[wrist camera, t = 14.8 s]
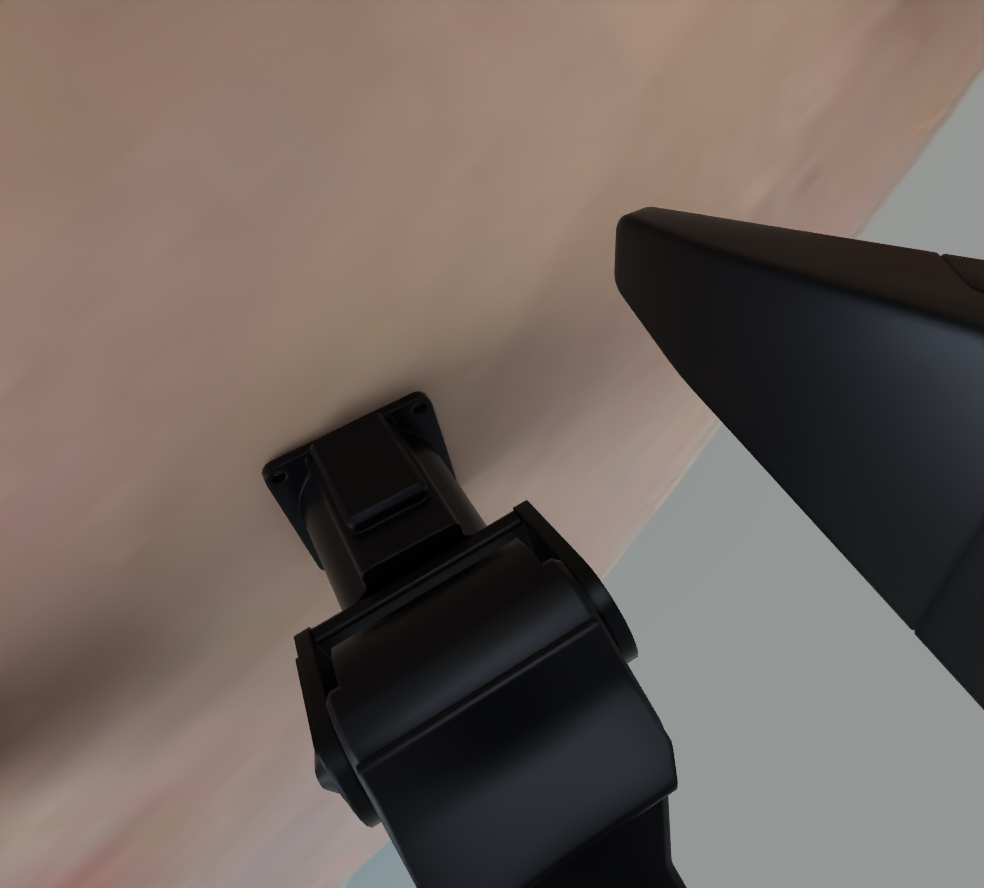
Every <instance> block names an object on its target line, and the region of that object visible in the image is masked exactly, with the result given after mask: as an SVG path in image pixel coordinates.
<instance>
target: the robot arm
mask: <svg viewBox="0 0 984 888" xmlns="http://www.w3.org/2000/svg"><path fill="white" fill-rule="evenodd" d="M614 273H615V281H616V285H617V288H618V290H619V292H620V293H621V295H622V296H623V298H624V299H625V301H626V302H627V303H628V305H629V306H630V307H631V309H632V310H633V312H634V313H635V314H636V316H637V317H638V319H639V320H640V321H641V323H642V324H643V325H644V327H645V328H646V330H647V331H648V332H649V334H650V335H651V337H652V338H653V339H654V341H655V342H656V344H657V345H658V346H659V348H660V349H661V350H662V352H663V353H664V355H665V356H666V357H667V359H668V360H669V362H670V363H671V364H672V365H673V367H674V368H675V369H676V371H677V372H678V373H679V374H680V376H681V377H682V378H683V379H684V380H685V381H686V383H687V384H688V385H689V386H690V387H691V388H692V390H693V391H694V392H695V393H696V394H697V395H698V396H699V397H700V398H701V399H702V401H703V402H704V403H705V404H706V405H707V406H708V407H709V408H710V409H711V410H712V412H713V413H714V414H715V415H716V416H717V417H718V418H719V419H720V420H721V421H722V422H723V424H724V425H725V426H726V427H727V428H728V429H729V430H730V431H731V432H732V433H733V435H734V436H736V438H737V439H738V440H739V441H740V442H741V443H742V444H743V446H744V447H745V448H746V449H747V450H748V451H749V452H750V453H751V454H752V455H753V457H754V458H755V459H756V460H757V461H758V462H759V463H760V464H761V465H762V466H763V467H764V468H765V470H767V472H768V473H769V474H770V475H771V476H772V477H773V478H774V479H775V481H776V482H777V483H778V484H779V485H780V486H781V487H782V488H783V489H784V491H786V493H787V494H788V495H789V496H790V497H791V498H792V499H793V500H794V502H795V503H796V504H797V505H798V506H799V507H800V508H801V509H802V510H803V511H804V512H805V514H806V515H807V516H808V517H809V518H810V519H811V520H812V521H813V522H814V523H815V525H816V526H817V527H818V528H819V529H820V530H821V531H822V532H823V533H824V534H825V536H826V537H827V538H828V539H829V540H830V541H831V542H832V543H833V544H834V545H835V546H836V547H837V549H838V550H839V551H840V552H841V553H842V554H843V555H844V556H845V557H846V559H847V560H848V561H849V562H850V563H851V564H852V565H853V566H854V567H855V568H856V569H857V571H858V572H859V573H860V574H861V575H862V576H863V577H864V578H865V579H866V581H867V582H868V583H869V584H870V585H871V586H872V587H873V588H874V589H875V590H876V591H877V593H878V594H879V595H880V596H881V597H882V598H883V599H884V600H885V601H886V602H887V603H888V605H889V606H890V607H891V608H892V609H893V610H894V611H895V612H896V613H897V615H898V616H899V617H900V618H901V619H902V620H903V621H904V622H905V623H906V624H907V625H908V627H909V628H910V629H912V630H915V635H916V636H917V637H918V638H919V639H920V640H921V641H922V643H923V644H924V645H925V646H926V647H927V648H928V649H929V650H930V651H931V652H932V654H933V655H934V656H935V657H936V658H937V659H938V660H939V661H940V662H941V663H942V665H943V666H944V667H945V668H946V669H947V670H948V671H949V672H950V673H951V674H952V675H953V677H954V678H955V679H956V680H957V681H958V682H959V683H960V684H961V685H962V686H963V688H964V689H966V691H967V692H968V693H969V694H970V695H971V696H972V697H973V699H974V700H975V701H976V702H977V703H978V704H979V705H980V706H981V707H982V708H983V710H984V260H980V259H974V258H968V257H961V256H955V255H948V254H943V255H941V256H940V255H939V254H938V253H935V252H929V251H923V250H917V249H911V248H905V247H899V246H892V245H886V244H880V243H873V242H867V241H861V240H855V239H849V238H843V237H837V236H830V235H824V234H818V233H812V232H806V231H799V230H793V229H787V228H781V227H775V226H768V225H762V224H756V223H750V222H744V221H737V220H731V219H725V218H719V217H712V216H706V215H700V214H694V213H688V212H681V211H675V210H669V209H663V208H657V207H646V208H643V209H640V210H637V211H635V212H632V213H629V214H627V215H624V216H622V218H621V219H620V220H619V221H618V224H617V228H616V246H615V271H614ZM420 403H421V404H420ZM417 404H420V406H418V407H417V408H414V407H415V406H416V405H417ZM278 472H282V473H281V474H280V475H277V476H273V475H274V474H276V473H278ZM262 475H263V478H264V480H265V483H266V485H267V486H268V488H269V490H270V491H271V493H272V494H273V496H274V497H275V499H276V500H277V502H278V504H279V505H280V507H281V508H282V510H283V511H284V513H285V515H286V516H287V518H288V519H289V521H290V522H291V524H292V526H293V527H294V529H295V530H296V532H297V533H298V535H299V537H300V538H301V540H302V541H303V543H304V544H305V546H306V548H307V549H308V551H309V552H310V554H311V555H312V557H313V559H314V560H315V562H316V563H317V565H318V566H319V568H320V569H321V570H325V572H326V574H327V577H328V579H329V581H330V584H331V586H332V588H333V590H334V593H335V595H336V597H337V600H338V602H339V604H340V606H341V609H342V611H341V612H340V613H338V614H336V615H335V616H333V617H331V618H330V619H328V620H326V621H324V622H323V623H321V624H319V625H318V626H316V627H314V628H312V629H311V628H310V627H309V628H307V629H305V630H304V631H302V632H300V633H298V634H297V635H295V636H294V640H295V645H296V649H297V654H298V658H296V665H297V670H298V675H299V679H300V684H301V689H302V693H303V698H304V703H305V708H306V712H307V717H308V722H309V727H310V731H311V736H312V741H313V746H314V749H315V774H316V777H317V779H318V781H319V783H320V785H321V786H322V787H323V788H324V789H326V790H329V791H333V792H336V793H339V794H341V795H342V797H343V798H344V799H345V801H346V802H347V803H348V804H349V806H350V807H351V809H352V810H353V811H354V813H355V814H356V815H357V816H358V818H359V819H360V820H361V821H362V822H363V823H364V824H366V825H367V826H369V827H374V826H375V825H377V824H378V823H380V822H382V824H383V825H384V827H385V829H386V831H387V833H388V835H389V837H390V839H391V840H392V842H393V844H394V846H395V848H396V850H397V852H398V854H399V855H400V857H401V859H402V861H403V863H404V865H405V867H406V868H407V870H408V872H409V874H410V876H411V878H412V879H413V882H414V883H415V885H416V887H417V888H687V887H686V886H685V884H684V882H683V881H682V879H681V877H680V876H679V874H678V872H677V870H676V869H675V867H674V865H673V863H672V859H671V842H670V823H669V803H668V795H669V794H671V793H672V792H674V791H675V790H676V789H677V784H678V783H677V774H676V766H675V759H674V752H673V746H672V742H671V740H670V738H669V736H668V735H667V733H666V732H665V730H664V728H663V725H662V723H661V721H660V719H659V717H658V716H657V714H656V712H655V710H654V708H653V707H652V705H651V703H650V702H649V700H648V698H647V697H646V695H645V693H644V691H643V690H642V688H641V686H640V685H639V683H638V681H637V680H636V678H635V676H634V675H633V673H632V671H631V670H630V668H629V666H628V664H627V663H629V662H630V661H632V660H633V659H635V658H636V657H638V650H637V647H636V643H635V641H634V638H633V636H632V633H631V632H630V629H629V627H628V625H627V623H626V621H625V619H624V618H623V616H622V614H621V612H620V610H619V609H618V607H617V605H616V604H615V602H614V601H613V599H612V597H611V595H610V594H609V592H608V591H607V589H606V588H605V587H604V585H603V584H602V582H601V581H600V579H599V578H598V577H597V575H596V574H595V573H594V571H593V570H592V569H591V567H590V566H589V565H588V564H587V563H586V562H585V561H584V559H583V558H582V557H581V556H580V555H579V554H578V553H577V552H576V551H575V550H574V549H573V548H572V547H571V546H570V545H569V544H568V543H567V542H566V540H565V539H564V538H563V537H562V536H561V535H560V534H559V533H558V532H557V531H556V530H555V529H554V528H553V527H552V526H551V525H550V524H549V523H548V522H547V521H546V520H545V518H544V517H543V516H542V515H541V514H540V513H539V512H538V511H537V510H536V509H535V508H534V507H533V506H532V505H531V504H530V503H529V502H528V501H527V500H526V501H524V502H522V503H521V504H519V505H517V506H515V507H514V508H513V510H514V511H512V512H510V513H509V514H507V515H505V516H504V517H502V518H500V519H498V520H497V521H495V522H493V523H492V524H490V525H488V526H486V524H485V523H484V521H483V520H482V518H481V517H480V515H479V514H478V512H477V511H476V509H475V508H474V506H473V505H472V503H471V502H470V500H469V499H468V497H467V496H466V494H465V493H464V491H463V490H462V488H461V487H460V485H459V484H458V482H457V480H456V477H455V474H454V471H453V468H452V465H451V461H450V458H449V455H448V452H447V449H446V446H445V443H444V440H443V437H442V433H441V430H440V427H439V424H438V421H437V418H436V415H435V412H434V409H433V405H432V403H431V401H430V400H429V398H428V397H427V395H426V394H425V393H423V392H414V393H411V394H409V395H407V396H405V397H403V398H401V399H399V400H397V401H395V402H392V403H390V404H388V405H386V406H384V407H382V408H380V409H378V410H376V411H374V412H372V413H370V414H368V415H366V416H364V417H361V418H359V419H357V420H355V421H353V422H351V423H349V424H347V425H345V426H343V427H341V428H339V429H337V430H335V431H332V432H330V433H328V434H326V435H324V436H322V437H320V438H318V439H316V440H314V441H312V442H310V443H308V444H306V445H304V446H301V447H299V448H297V449H295V450H293V451H291V452H289V453H287V454H285V455H283V456H281V457H279V458H277V459H275V460H273V461H271V462H269V463H268V464H266V465H265V467H264V468H263V471H262Z"/></svg>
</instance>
